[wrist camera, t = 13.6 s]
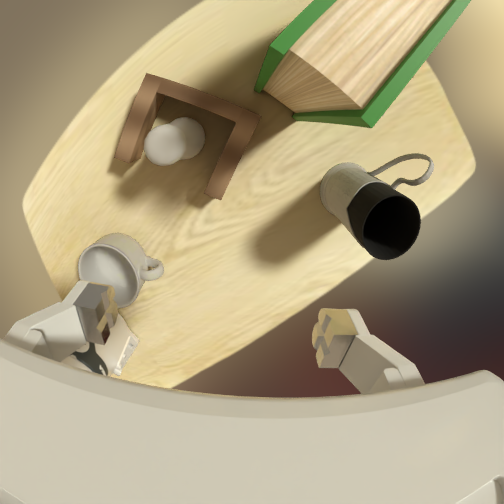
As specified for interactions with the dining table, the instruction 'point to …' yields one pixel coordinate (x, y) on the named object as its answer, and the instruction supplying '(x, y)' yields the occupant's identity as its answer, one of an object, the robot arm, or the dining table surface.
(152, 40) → the dining table surface
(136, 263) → the teacup
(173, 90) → the walnut holder
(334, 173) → the tall mug
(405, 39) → the hardback book
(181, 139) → the salt shaker
